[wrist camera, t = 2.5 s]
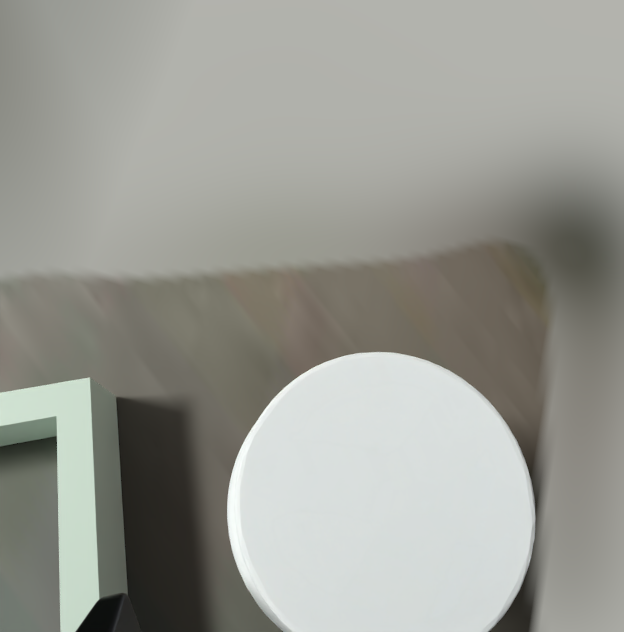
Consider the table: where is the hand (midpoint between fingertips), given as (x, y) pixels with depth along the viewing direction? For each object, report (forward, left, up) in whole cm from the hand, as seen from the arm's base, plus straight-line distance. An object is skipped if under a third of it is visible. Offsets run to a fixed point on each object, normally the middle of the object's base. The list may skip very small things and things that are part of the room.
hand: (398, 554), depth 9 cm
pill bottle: (+1, 0, -9) cm, 9 cm away
